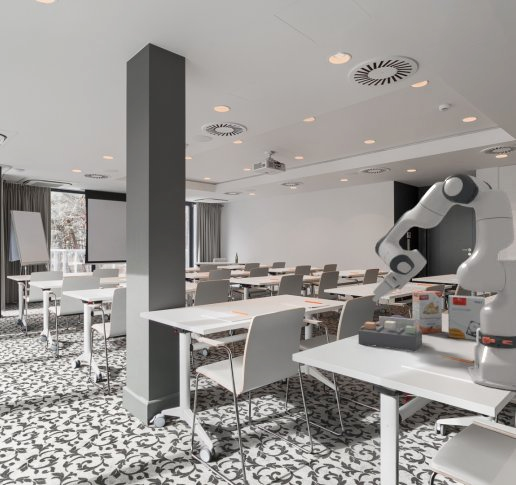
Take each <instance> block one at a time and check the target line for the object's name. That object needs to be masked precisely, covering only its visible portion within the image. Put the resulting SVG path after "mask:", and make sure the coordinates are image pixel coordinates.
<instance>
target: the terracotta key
mask: <svg viewBox="0 0 516 485" xmlns="http://www.w3.org/2000/svg"><path fill="white" fill-rule="evenodd" d="M363 326H364V327H365V329H372V330H373V329H375V328H376V326H377V323H376V322H375V321H366V322H364V325H363Z"/></svg>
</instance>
